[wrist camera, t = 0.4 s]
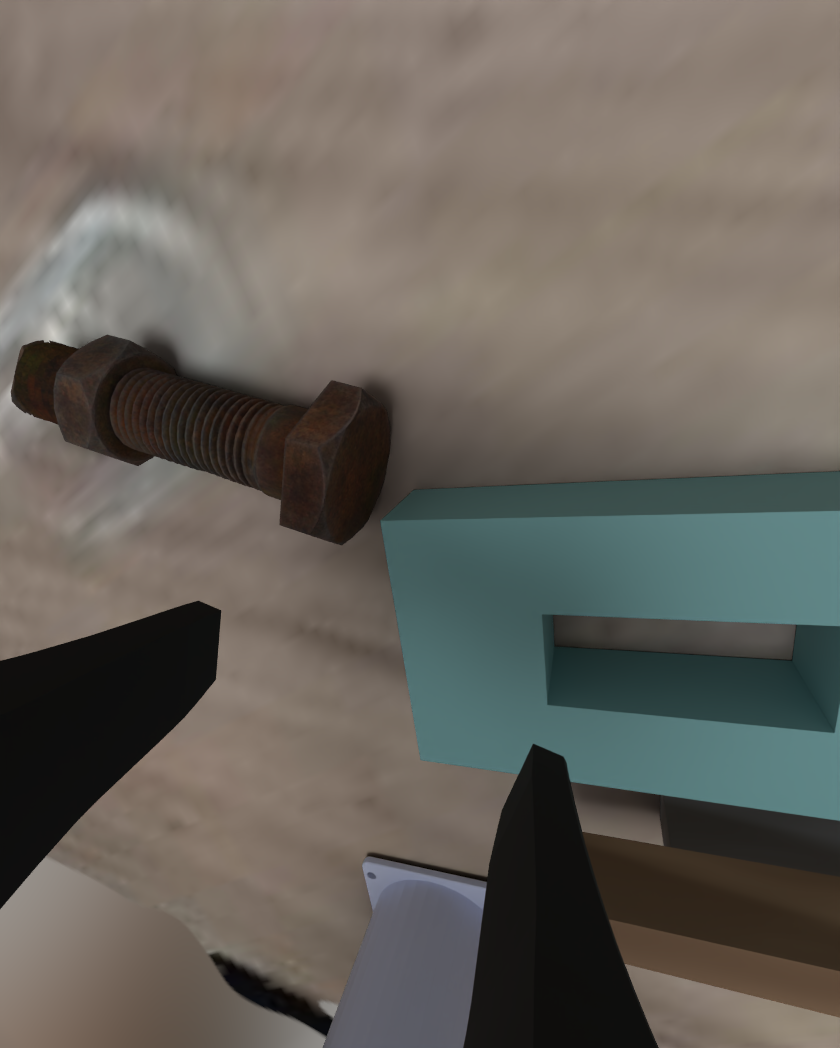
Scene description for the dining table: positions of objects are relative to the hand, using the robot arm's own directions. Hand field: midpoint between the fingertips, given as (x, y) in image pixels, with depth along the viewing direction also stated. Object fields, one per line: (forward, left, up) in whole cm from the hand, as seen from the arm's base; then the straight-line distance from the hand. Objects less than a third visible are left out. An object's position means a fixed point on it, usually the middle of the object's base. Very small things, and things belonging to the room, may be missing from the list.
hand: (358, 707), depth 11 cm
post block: (-3, -7, -10) cm, 13 cm away
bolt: (+6, +10, -11) cm, 16 cm away
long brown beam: (-12, -10, -10) cm, 19 cm away
